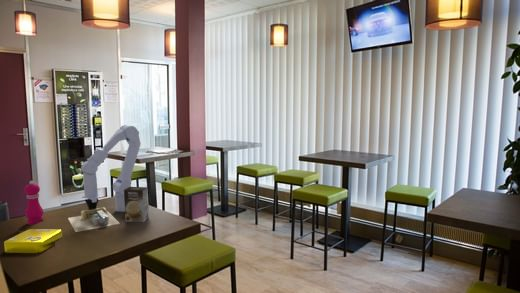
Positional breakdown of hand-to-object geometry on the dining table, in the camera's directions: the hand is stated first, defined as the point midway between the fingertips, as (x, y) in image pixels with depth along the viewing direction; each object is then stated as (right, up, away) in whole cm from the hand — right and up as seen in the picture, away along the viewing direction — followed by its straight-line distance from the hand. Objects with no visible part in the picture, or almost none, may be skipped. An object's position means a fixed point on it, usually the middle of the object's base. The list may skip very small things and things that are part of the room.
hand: (92, 213), depth 177 cm
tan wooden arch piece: (+2, -1, -3) cm, 4 cm away
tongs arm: (+5, -2, -9) cm, 10 cm away
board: (+4, -3, -8) cm, 9 cm away
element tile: (-8, -7, -33) cm, 34 cm away
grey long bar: (+8, -2, -9) cm, 12 cm away
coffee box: (+24, -3, -7) cm, 25 cm away
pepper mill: (-25, -3, -5) cm, 25 cm away
